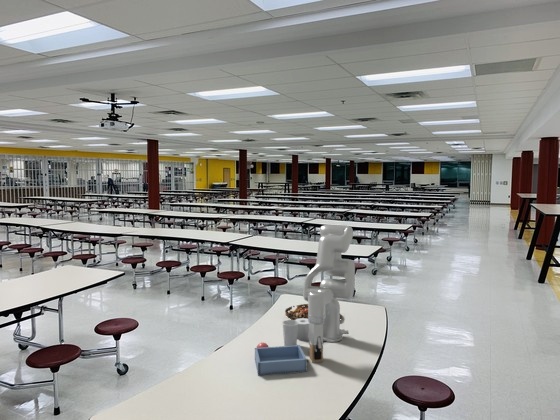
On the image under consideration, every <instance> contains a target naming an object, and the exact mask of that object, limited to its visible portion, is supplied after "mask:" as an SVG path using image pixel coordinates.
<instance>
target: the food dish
mask: <svg viewBox="0 0 560 420" xmlns="http://www.w3.org/2000/svg"><path fill="white" fill-rule="evenodd" d="M293 308H295V305H293V306H289V307H287V308H285V310H284V313H285V314H284V315H285V317H286V316H287V317H288V318H287V317H286V318H287V319H289V318H290V319H291V320H296V319H300V318H307V319H308V303H303V304H302V303H301V304H298V305H296V308H295V309H293ZM292 309H293V310H292ZM290 319H289V320H290ZM340 319H342V320H343V316H342V314H341V313H340Z"/></svg>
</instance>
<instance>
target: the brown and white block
mask: <svg viewBox="0 0 560 420" xmlns="http://www.w3.org/2000/svg"><path fill="white" fill-rule="evenodd" d="M316 344H318V343H316ZM317 347H318V346H316V348H317ZM321 347H322V348H321V359H319V360H315V359H314V351H315V345H314V346H313V345H312V344H311V342H310V341H309V360H310V361H311V363H321V362H322V363H323V362H324V359H323V358H324V344H322V345H321Z"/></svg>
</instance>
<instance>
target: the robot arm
mask: <svg viewBox="0 0 560 420" xmlns="http://www.w3.org/2000/svg"><path fill="white" fill-rule="evenodd" d="M319 234H320V238H319V241H318V247H317V254H316V260H315V261H316V262H315V265H314V267H312V268H311V269H310V270H309V271H308V273H307V274H306V276H305V278H304V283H303V290H302V297H303V299H304V301H306V302H308V303H307V304H308V322H309V332H308V338H309V340H310V341H309V343H310V342H311V344H312V345H313V346H314V345H315V351H314V359H315V360H319V359H321V348H322V347H321V345H324V342H328V343H336V342H340V341H342V340H343V335H349V333H350V331H349V330H348V329H347V330H345V328H342V329H341V326H340V324H341V320H340V314H341V305H340V303H339V300H338V299H344V300H345V299H347V300H350V299H352V298H353V296H354V292H355V279H356V278H355V275H356V266H355V262H354V260H352V259H351V258H350V259H349V258H342V254H345V253H347V252H348V250H349V247H350V245H351V242H352V240H353V236H354V230H353V228H352V226H351V225H343V224H325V225H321V226H320V228H319ZM321 273H325V275H327V276H331V277H336V278H324V279H322V280H321V281H320V284H319V286H314V285H312V282H313V280H314V279H315V277H316V276H318V275H319V274H321ZM337 277H340V278H344V279H339V278H337ZM316 343H318V344H316ZM316 346H318V347H317V348H316Z"/></svg>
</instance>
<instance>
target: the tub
mask: <svg viewBox="0 0 560 420" xmlns="http://www.w3.org/2000/svg"><path fill="white" fill-rule="evenodd" d="M254 363H255V366H256V371H257V375H258V376H259V377H260V376H269V375H271V376H272V375H282V374H297V373H307V371H308V369H307V368H308V366H307V365H308V360H307V357H306V355H305V353H304V351H303V349H302V347H301V345H300V344H299V345H298V344H297V345H294V346H284V345H283V346H281V345H280V346H268V347H263V348H257V347H255V348H254Z"/></svg>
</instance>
